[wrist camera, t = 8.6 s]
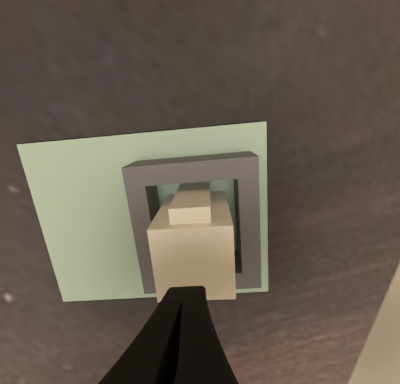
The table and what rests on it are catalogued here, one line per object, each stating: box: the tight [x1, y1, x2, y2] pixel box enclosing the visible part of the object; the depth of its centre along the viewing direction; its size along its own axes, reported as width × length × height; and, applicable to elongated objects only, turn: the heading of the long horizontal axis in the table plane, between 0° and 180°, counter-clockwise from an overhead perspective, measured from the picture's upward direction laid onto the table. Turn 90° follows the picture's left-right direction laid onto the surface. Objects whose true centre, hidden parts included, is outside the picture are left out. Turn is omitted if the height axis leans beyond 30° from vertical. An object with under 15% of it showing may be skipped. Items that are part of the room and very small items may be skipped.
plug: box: [147, 182, 236, 302], centre depth 14 cm, size 5×4×6 cm
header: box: [17, 122, 268, 302], centre depth 16 cm, size 13×17×4 cm
